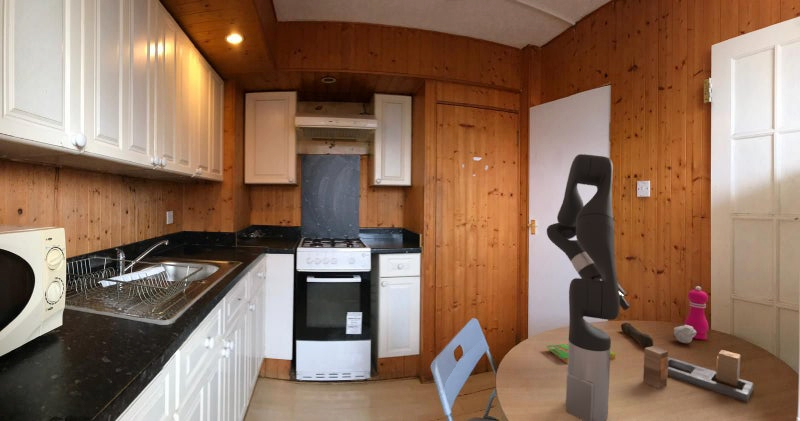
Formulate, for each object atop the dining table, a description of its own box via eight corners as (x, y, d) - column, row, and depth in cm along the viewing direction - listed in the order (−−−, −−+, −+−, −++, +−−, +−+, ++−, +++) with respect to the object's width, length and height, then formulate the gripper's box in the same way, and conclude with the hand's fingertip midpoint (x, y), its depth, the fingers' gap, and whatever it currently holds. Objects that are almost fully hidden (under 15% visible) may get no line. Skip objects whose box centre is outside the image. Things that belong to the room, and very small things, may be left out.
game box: (615, 362, 116) (562, 364, 111) (593, 350, 125) (543, 351, 121) (616, 353, 116) (562, 355, 111) (594, 341, 125) (544, 343, 121)
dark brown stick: (620, 331, 141) (620, 320, 141) (631, 332, 140) (631, 321, 140) (642, 351, 122) (643, 338, 122) (655, 353, 122) (656, 340, 122)
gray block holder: (752, 389, 98) (754, 355, 98) (746, 402, 92) (748, 365, 92) (666, 362, 114) (668, 332, 113) (656, 371, 108) (658, 339, 107)
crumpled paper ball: (690, 348, 126) (691, 329, 125) (669, 340, 132) (669, 322, 132) (699, 345, 128) (700, 326, 128) (678, 338, 134) (679, 320, 134)
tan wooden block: (659, 389, 98) (660, 354, 97) (643, 381, 102) (644, 348, 101) (668, 386, 99) (669, 352, 99) (651, 378, 103) (653, 346, 103)
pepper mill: (699, 341, 132) (701, 289, 131) (679, 333, 139) (681, 284, 138) (712, 339, 134) (715, 288, 133) (692, 332, 141) (695, 283, 140)
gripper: (580, 263, 115) (611, 307, 105) (609, 260, 121) (641, 302, 111) (566, 275, 121) (595, 318, 111) (595, 272, 126) (624, 313, 116)
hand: (618, 310), depth 111 cm, fingers open, 8 cm apart
